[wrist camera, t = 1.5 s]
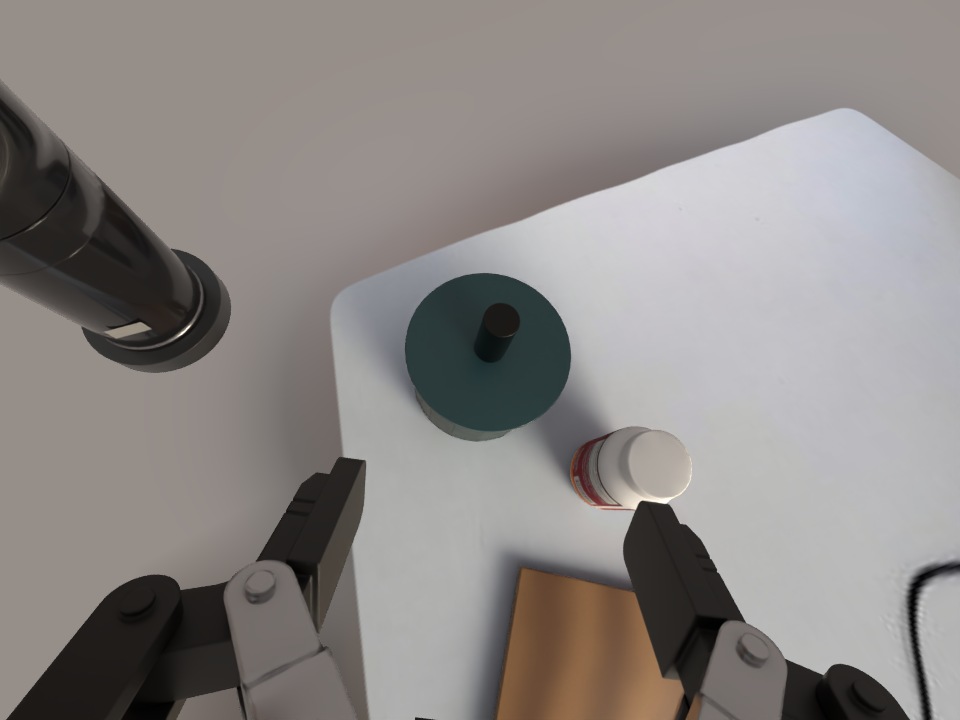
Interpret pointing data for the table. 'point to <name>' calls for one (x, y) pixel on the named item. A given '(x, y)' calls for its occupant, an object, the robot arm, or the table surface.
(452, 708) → the table surface
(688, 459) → the pill bottle
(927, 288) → the table surface
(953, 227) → the table surface
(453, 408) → the lid
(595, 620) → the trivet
